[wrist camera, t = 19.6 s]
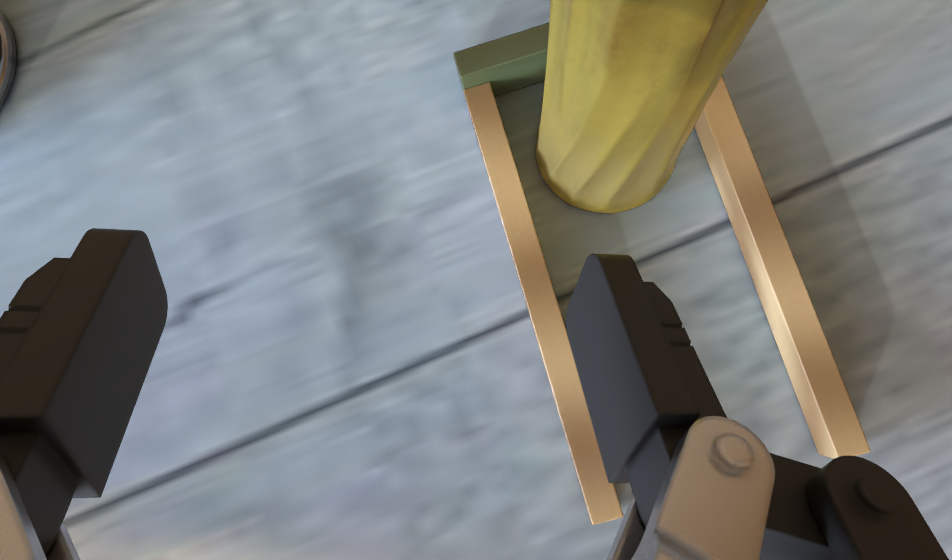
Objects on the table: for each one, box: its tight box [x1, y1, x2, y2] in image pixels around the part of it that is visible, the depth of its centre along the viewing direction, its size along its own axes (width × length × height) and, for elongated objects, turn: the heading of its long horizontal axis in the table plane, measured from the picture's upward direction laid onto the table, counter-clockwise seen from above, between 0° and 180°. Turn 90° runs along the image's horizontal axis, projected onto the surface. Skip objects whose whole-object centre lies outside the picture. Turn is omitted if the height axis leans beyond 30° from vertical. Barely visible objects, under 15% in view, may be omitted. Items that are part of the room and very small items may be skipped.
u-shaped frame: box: [454, 22, 870, 525], centre depth 22 cm, size 20×10×2 cm, turn 16°
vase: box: [535, 0, 768, 213], centre depth 18 cm, size 6×6×14 cm
